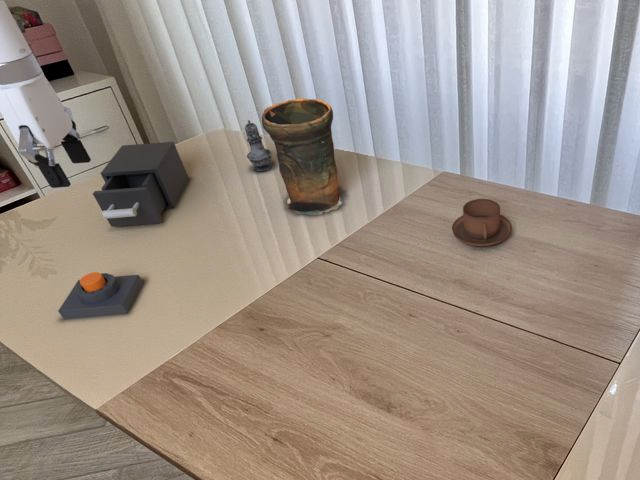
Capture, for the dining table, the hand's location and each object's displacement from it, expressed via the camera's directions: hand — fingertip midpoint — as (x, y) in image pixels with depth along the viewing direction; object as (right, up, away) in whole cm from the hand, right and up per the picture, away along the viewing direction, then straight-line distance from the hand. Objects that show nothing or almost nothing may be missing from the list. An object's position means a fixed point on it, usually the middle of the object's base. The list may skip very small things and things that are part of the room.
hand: (72, 173), depth 98 cm
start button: (+4, -20, 0) cm, 20 cm away
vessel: (+37, +3, +27) cm, 45 cm away
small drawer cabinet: (-2, +5, +30) cm, 31 cm away
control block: (+4, -22, +3) cm, 23 cm away
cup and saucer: (+73, -8, +14) cm, 75 cm away
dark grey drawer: (-1, -2, +23) cm, 23 cm away
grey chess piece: (+20, +14, +39) cm, 46 cm away
